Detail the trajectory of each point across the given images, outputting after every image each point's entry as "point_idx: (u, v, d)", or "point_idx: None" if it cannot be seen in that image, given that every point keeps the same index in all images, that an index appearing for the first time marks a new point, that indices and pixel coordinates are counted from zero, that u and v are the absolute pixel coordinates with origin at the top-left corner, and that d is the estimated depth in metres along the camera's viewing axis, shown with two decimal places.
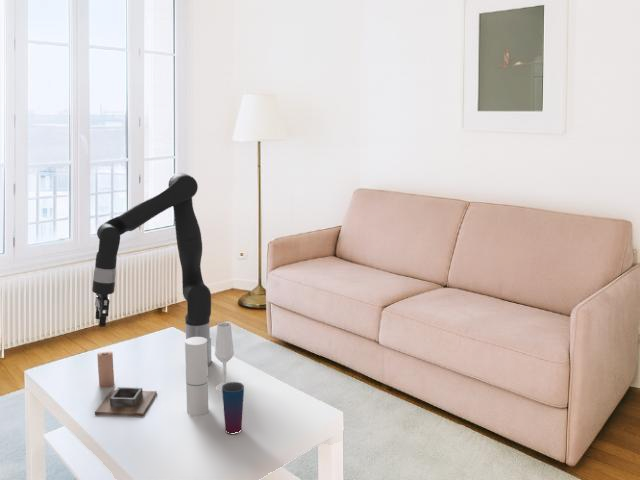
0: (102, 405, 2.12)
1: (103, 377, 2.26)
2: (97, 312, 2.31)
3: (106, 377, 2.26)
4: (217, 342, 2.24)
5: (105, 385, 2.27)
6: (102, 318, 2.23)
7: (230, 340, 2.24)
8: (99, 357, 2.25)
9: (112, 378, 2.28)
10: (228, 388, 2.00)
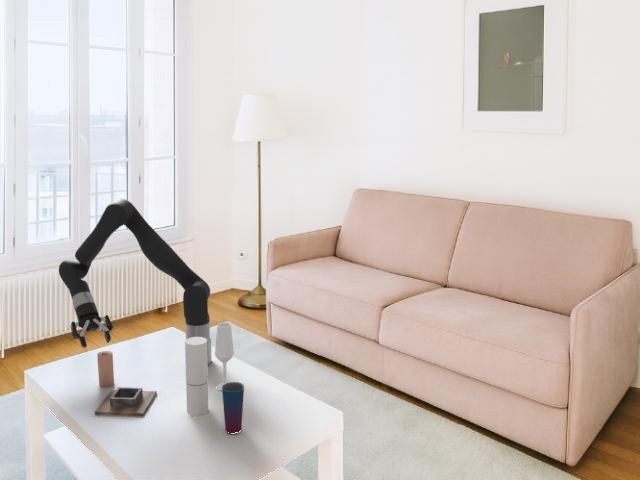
0: (102, 405, 2.12)
1: (103, 377, 2.26)
2: (105, 336, 2.37)
3: (106, 377, 2.26)
4: (217, 342, 2.24)
5: (105, 385, 2.27)
6: (80, 339, 2.31)
7: (230, 340, 2.24)
8: (99, 357, 2.25)
9: (112, 378, 2.28)
10: (228, 388, 2.00)
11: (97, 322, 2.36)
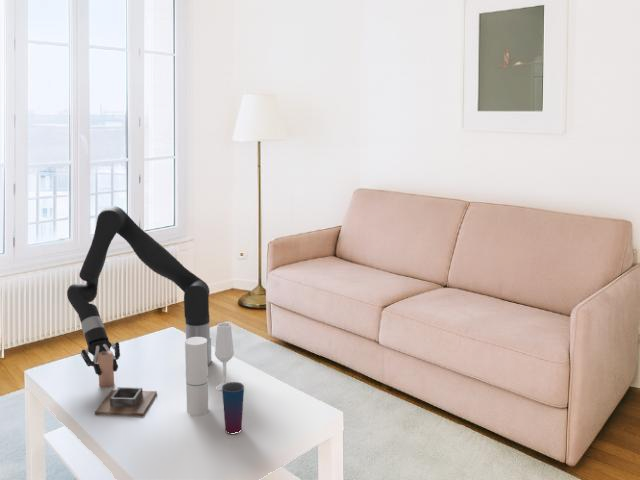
0: (102, 405, 2.12)
1: (104, 377, 2.26)
2: None
3: (106, 377, 2.26)
4: (217, 342, 2.24)
5: (105, 385, 2.27)
6: (94, 367, 2.26)
7: (230, 340, 2.24)
8: (99, 357, 2.25)
9: (112, 378, 2.28)
10: (228, 388, 2.00)
11: (106, 348, 2.30)
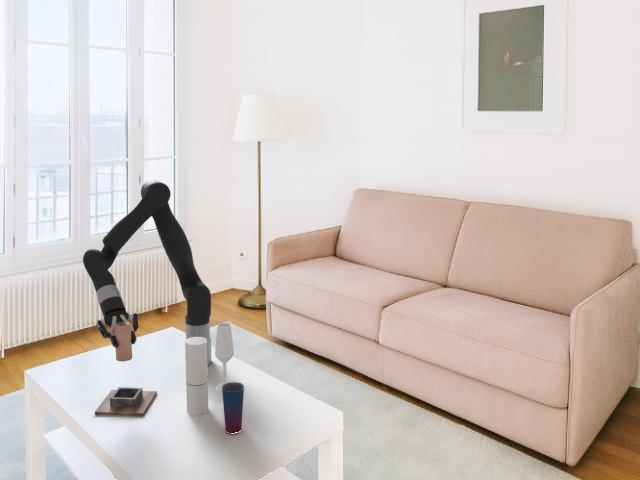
0: (102, 405, 2.12)
1: (121, 349, 2.09)
2: None
3: (124, 350, 2.09)
4: (217, 342, 2.24)
5: (123, 359, 2.09)
6: (110, 339, 2.09)
7: (230, 340, 2.24)
8: (116, 328, 2.07)
9: (130, 351, 2.11)
10: (228, 388, 2.00)
11: (124, 319, 2.13)
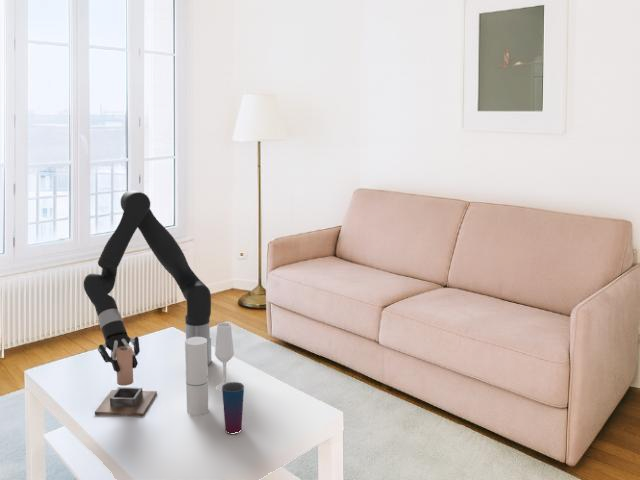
0: (102, 405, 2.12)
1: (122, 374, 2.10)
2: None
3: (125, 374, 2.11)
4: (217, 342, 2.24)
5: (124, 383, 2.11)
6: (112, 363, 2.10)
7: (230, 340, 2.24)
8: (118, 352, 2.09)
9: (131, 375, 2.13)
10: (228, 388, 2.00)
11: (125, 343, 2.14)
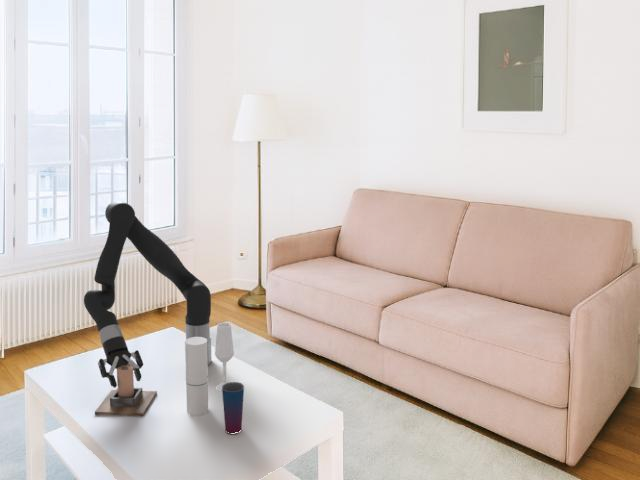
0: (102, 405, 2.12)
1: (123, 393, 2.12)
2: (135, 374, 2.17)
3: (126, 394, 2.12)
4: (217, 342, 2.24)
5: None
6: (109, 378, 2.11)
7: (230, 340, 2.24)
8: (119, 372, 2.11)
9: (132, 394, 2.14)
10: (228, 388, 2.00)
11: (127, 358, 2.16)
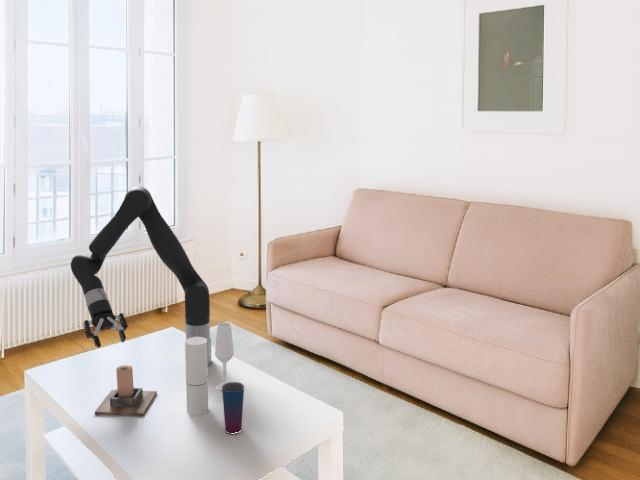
0: (102, 405, 2.12)
1: (123, 393, 2.12)
2: (119, 335, 2.24)
3: (126, 393, 2.12)
4: (217, 342, 2.24)
5: None
6: (93, 339, 2.19)
7: (230, 340, 2.24)
8: (118, 372, 2.11)
9: (132, 394, 2.14)
10: (228, 388, 2.00)
11: (111, 320, 2.23)
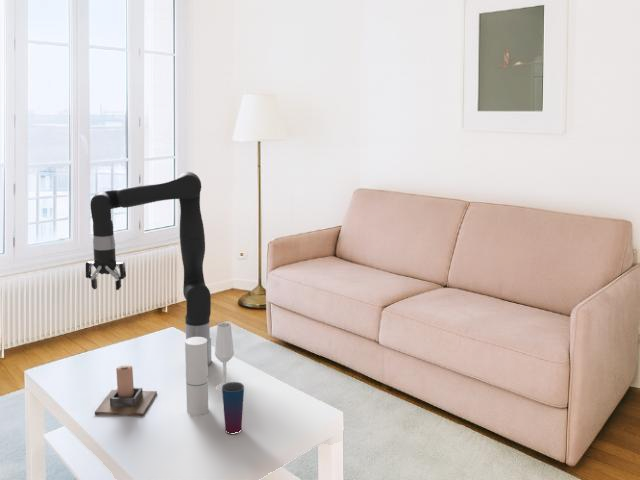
0: (102, 405, 2.12)
1: (123, 393, 2.12)
2: None
3: (126, 393, 2.12)
4: (217, 342, 2.24)
5: None
6: None
7: (230, 340, 2.24)
8: (118, 372, 2.11)
9: (132, 394, 2.14)
10: (228, 388, 2.00)
11: (109, 270, 2.32)
